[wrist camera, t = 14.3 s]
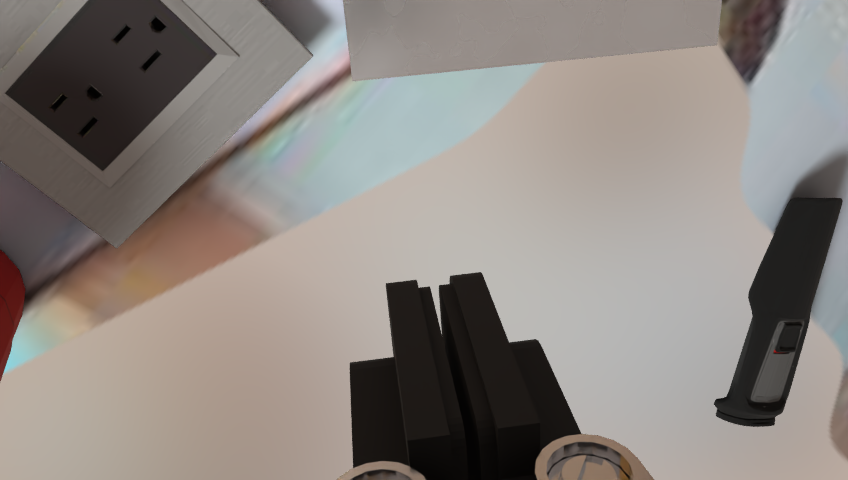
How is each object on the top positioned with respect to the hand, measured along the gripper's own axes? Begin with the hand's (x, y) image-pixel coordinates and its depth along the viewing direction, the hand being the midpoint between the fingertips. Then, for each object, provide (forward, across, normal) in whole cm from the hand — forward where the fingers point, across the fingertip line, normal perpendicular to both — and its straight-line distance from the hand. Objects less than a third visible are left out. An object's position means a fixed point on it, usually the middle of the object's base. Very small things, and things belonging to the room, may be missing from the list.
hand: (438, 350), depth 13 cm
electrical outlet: (+24, +11, -1) cm, 26 cm away
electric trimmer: (+24, -21, +16) cm, 36 cm away
